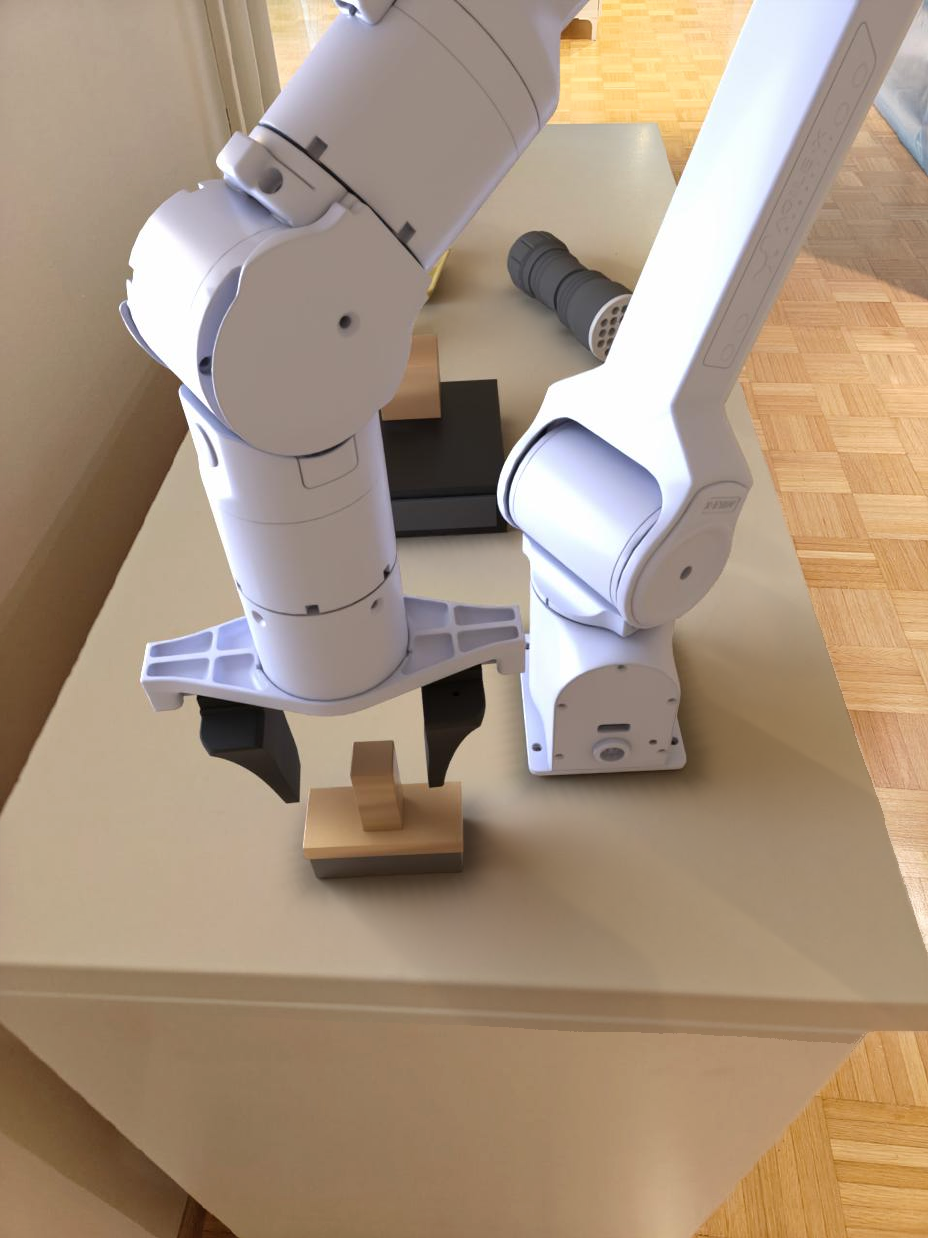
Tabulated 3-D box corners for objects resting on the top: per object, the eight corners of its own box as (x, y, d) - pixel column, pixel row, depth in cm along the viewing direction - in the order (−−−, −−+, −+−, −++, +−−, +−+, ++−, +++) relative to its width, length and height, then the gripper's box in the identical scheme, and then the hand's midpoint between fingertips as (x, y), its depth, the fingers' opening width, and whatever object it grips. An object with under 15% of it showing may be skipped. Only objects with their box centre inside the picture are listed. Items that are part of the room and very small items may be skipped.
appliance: (507, 535, 59) (507, 486, 57) (323, 544, 60) (313, 496, 57) (498, 425, 68) (497, 378, 65) (337, 434, 68) (328, 387, 65)
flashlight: (501, 290, 82) (500, 231, 78) (553, 276, 84) (555, 216, 80) (590, 370, 72) (593, 306, 68) (647, 352, 74) (654, 288, 70)
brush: (465, 873, 43) (457, 785, 38) (313, 880, 43) (283, 794, 38) (463, 814, 45) (455, 723, 40) (319, 821, 45) (291, 731, 40)
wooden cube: (441, 417, 62) (437, 365, 59) (382, 420, 62) (375, 368, 59) (440, 385, 65) (437, 333, 62) (384, 388, 65) (378, 336, 62)
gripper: (507, 466, 35) (510, 691, 45) (123, 504, 34) (212, 723, 44) (535, 597, 30) (532, 817, 40) (88, 643, 29) (197, 854, 39)
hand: (364, 776), depth 42 cm, fingers open, 6 cm apart
